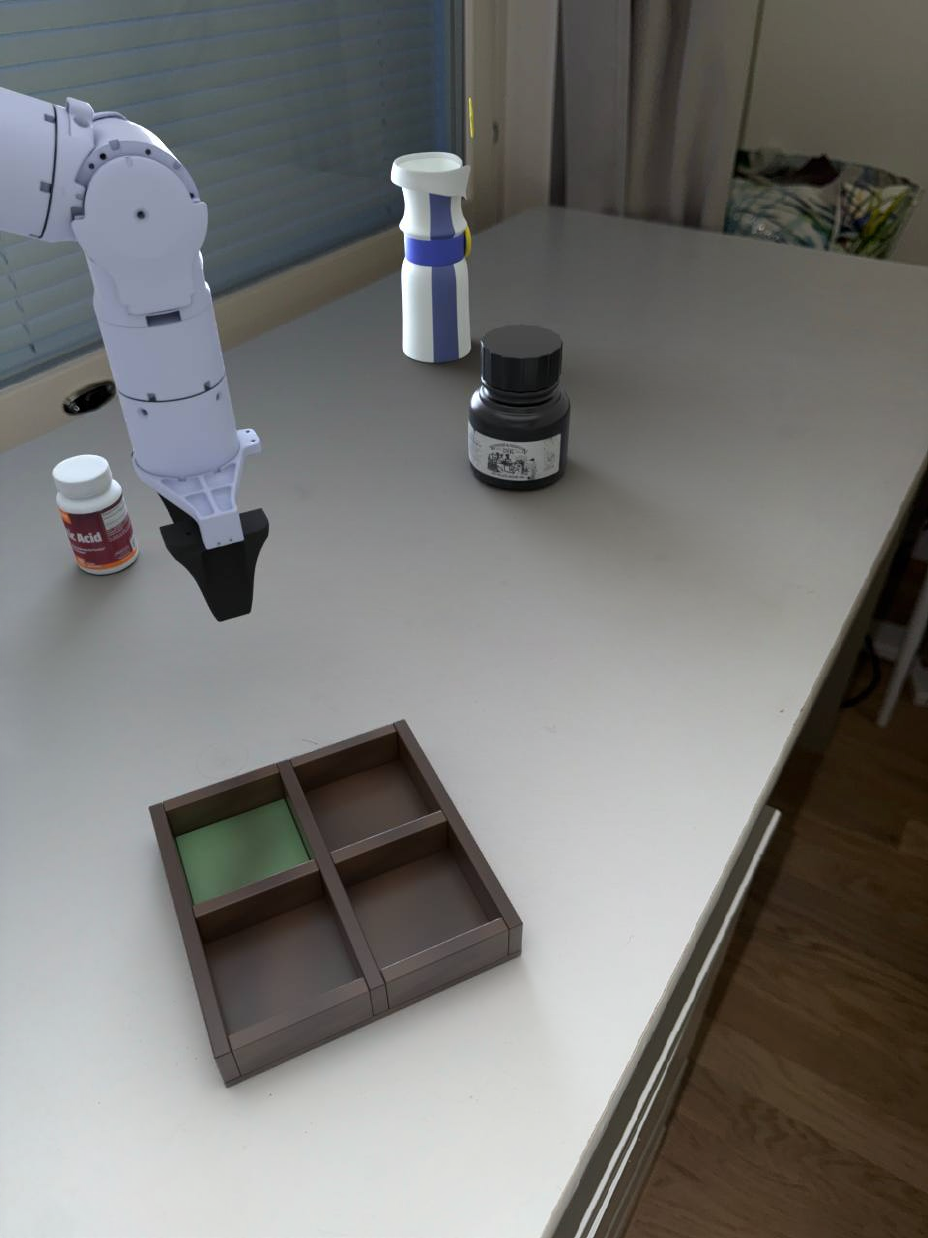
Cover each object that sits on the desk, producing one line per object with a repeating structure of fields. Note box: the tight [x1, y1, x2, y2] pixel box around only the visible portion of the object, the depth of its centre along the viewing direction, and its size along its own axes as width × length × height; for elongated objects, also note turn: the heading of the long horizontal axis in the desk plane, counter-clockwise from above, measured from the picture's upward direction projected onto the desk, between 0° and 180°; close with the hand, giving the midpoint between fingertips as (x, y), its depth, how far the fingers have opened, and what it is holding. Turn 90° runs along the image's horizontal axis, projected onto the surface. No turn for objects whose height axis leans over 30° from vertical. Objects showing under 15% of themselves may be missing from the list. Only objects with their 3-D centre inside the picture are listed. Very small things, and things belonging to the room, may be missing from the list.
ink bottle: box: [467, 323, 572, 490], centre depth 80 cm, size 10×9×12 cm
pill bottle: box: [51, 454, 139, 576], centre depth 71 cm, size 5×5×8 cm
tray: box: [148, 718, 524, 1089], centre depth 49 cm, size 15×15×3 cm
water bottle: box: [390, 97, 475, 364], centre depth 96 cm, size 8×9×25 cm
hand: (217, 579), depth 58 cm, fingers open, 7 cm apart
